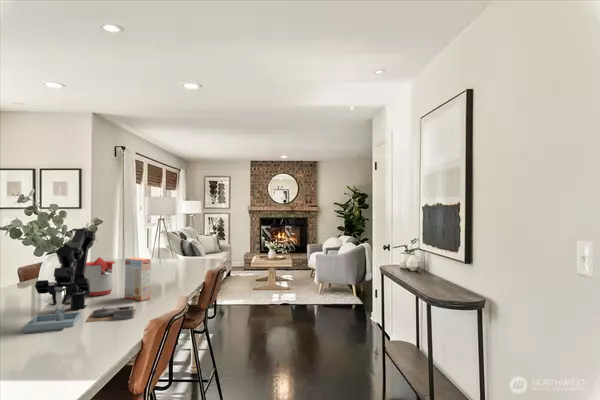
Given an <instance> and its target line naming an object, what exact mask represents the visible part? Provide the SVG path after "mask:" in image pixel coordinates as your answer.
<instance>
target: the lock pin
mask: <svg viewBox="0 0 600 400" xmlns="http://www.w3.org/2000/svg"><path fill="white" fill-rule="evenodd" d="M54 290H55V291H56V301H55V305H54V307H55V309H54V310H55V311H54V314H55V321H62V320H64V313H65V304H63V301H64V297H65V294H66V286H57V287H54Z"/></svg>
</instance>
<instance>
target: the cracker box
mask: <svg viewBox="0 0 600 400" xmlns="http://www.w3.org/2000/svg"><path fill="white" fill-rule="evenodd" d="M151 264H152V259H151V258H146V257H145V258H143V257H127V258H125V260H124V299H128V300H133V301H138V302H143V301H148V300H150V299H151V270H152V269H151V268H152V265H151Z"/></svg>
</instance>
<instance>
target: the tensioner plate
mask: <svg viewBox="0 0 600 400" xmlns="http://www.w3.org/2000/svg"><path fill="white" fill-rule="evenodd" d="M134 308H135V307H134V305H128V306H125V305H124V306H116V307H108V306H104V307H102V308H98V309H95V310H93V311H92V312H91V313H90V314H89V315H88V316H87V318H86V320H85V321H84V323H86V324H87V323H94V322H96V323H97V322H107V321H119V320H131V319H134V318H135V315H136V311H137V309H136V308H135V309H134Z"/></svg>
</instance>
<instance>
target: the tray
mask: <svg viewBox="0 0 600 400" xmlns="http://www.w3.org/2000/svg"><path fill="white" fill-rule="evenodd" d="M81 318H82V312H81V311H79V312H77V311H75V312H68V313H67V312H66V313H65V312H64V320H62V321H55V313H52V314H51V313H50V314H40V315H38V314H37V315H35V316H33V318H32V319H30V320H29V321H28V322H27V323H26V324H24V325H23V327H24V328H23V329H24V330H23V334H24V335H25V334H35V333H36V334H37V333H47V332H56V331H57V332H58V331H63V330H64V329H65V328H74V326H75V325H76V324H77V323H78V322H79V320H80V319H81Z"/></svg>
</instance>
